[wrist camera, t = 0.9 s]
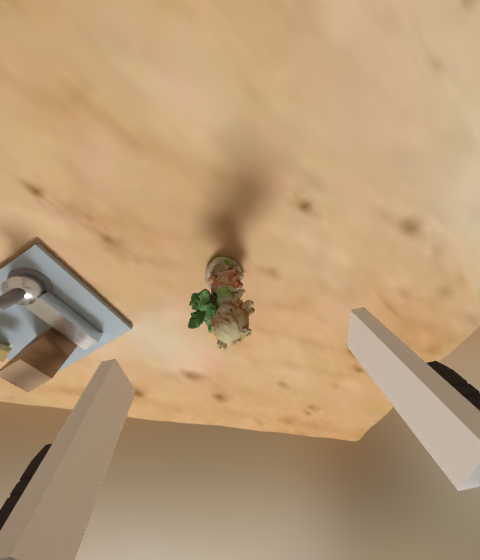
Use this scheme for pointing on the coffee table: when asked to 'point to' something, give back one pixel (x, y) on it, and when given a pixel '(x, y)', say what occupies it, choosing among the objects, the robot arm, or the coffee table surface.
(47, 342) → the block
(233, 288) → the figurine
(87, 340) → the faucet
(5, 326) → the board
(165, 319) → the coffee table surface
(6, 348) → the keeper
